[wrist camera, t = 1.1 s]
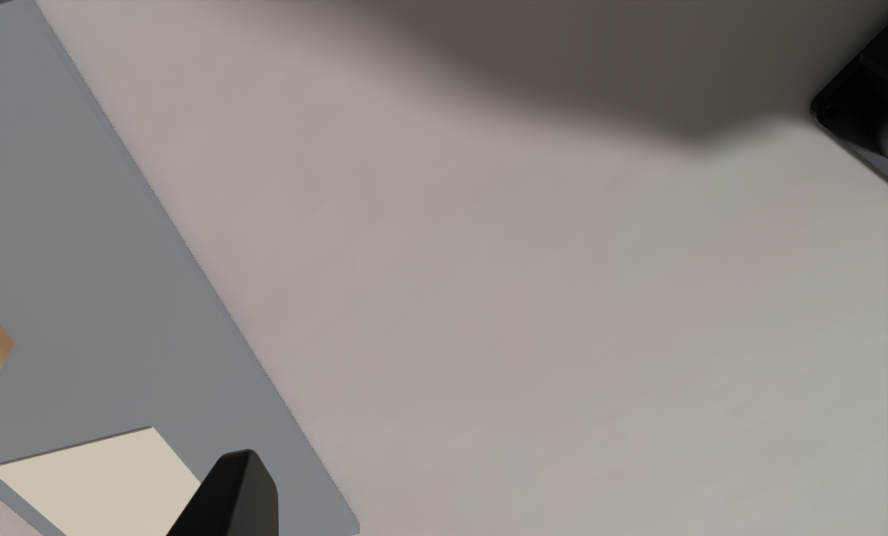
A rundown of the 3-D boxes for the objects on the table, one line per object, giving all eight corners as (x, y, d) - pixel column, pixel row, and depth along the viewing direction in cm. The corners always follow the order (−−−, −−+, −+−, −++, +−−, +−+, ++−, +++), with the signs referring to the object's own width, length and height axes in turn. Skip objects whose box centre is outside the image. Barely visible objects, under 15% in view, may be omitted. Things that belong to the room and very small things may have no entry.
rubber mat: (-419, 129, 18) (-441, 140, 18) (28, -9, 17) (19, -1, 17) (113, 581, 34) (109, 592, 34) (359, 523, 33) (359, 535, 33)
